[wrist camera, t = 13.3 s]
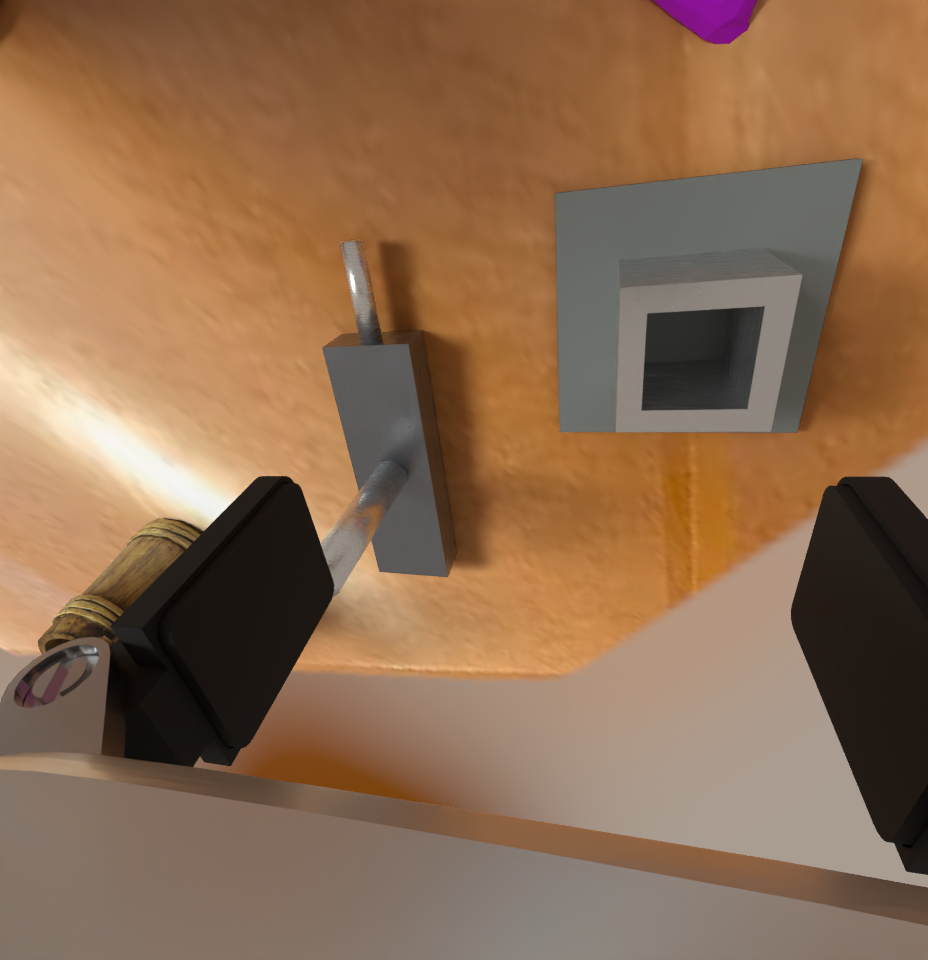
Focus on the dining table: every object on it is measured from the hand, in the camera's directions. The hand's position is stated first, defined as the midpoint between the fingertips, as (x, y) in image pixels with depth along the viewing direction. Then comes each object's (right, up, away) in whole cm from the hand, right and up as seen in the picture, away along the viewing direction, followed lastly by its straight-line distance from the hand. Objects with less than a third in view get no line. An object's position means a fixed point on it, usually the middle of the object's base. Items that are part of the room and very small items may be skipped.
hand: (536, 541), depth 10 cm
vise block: (-5, +5, +23) cm, 24 cm away
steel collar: (+9, +9, +15) cm, 20 cm away
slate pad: (+9, +9, +16) cm, 21 cm away
